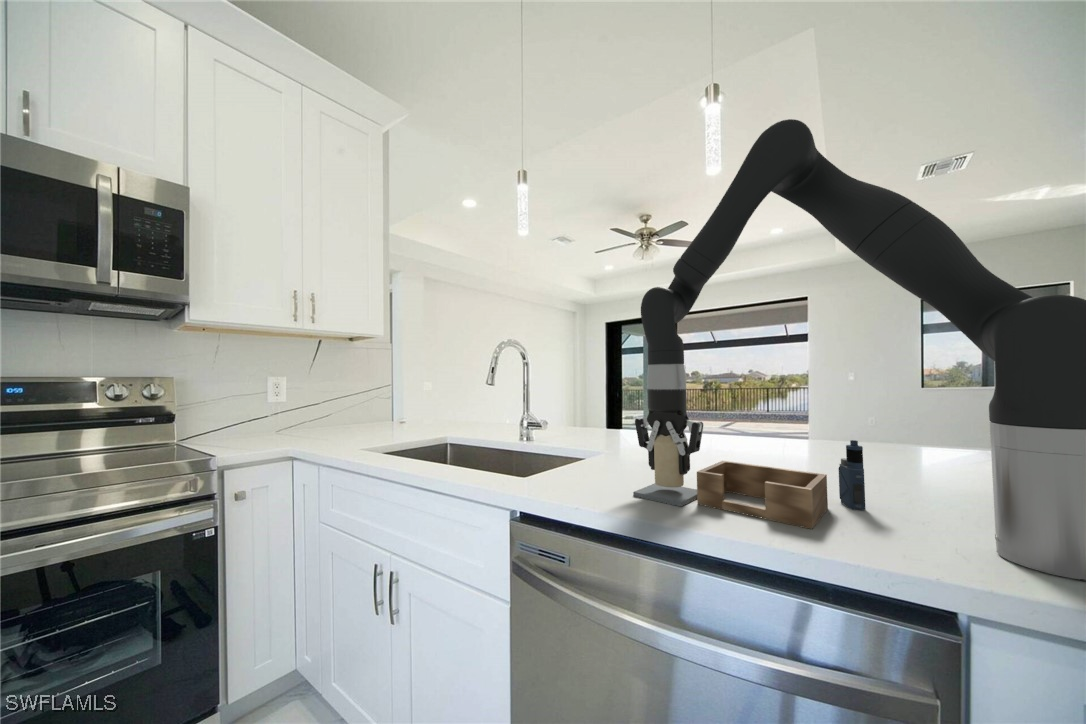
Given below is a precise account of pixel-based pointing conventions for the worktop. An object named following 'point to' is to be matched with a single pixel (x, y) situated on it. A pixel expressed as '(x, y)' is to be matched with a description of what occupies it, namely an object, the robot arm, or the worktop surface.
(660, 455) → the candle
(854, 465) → the vaping device
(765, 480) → the box
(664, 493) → the mat
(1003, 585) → the worktop surface
